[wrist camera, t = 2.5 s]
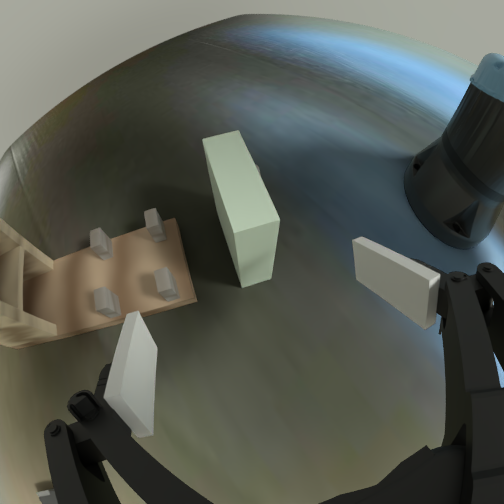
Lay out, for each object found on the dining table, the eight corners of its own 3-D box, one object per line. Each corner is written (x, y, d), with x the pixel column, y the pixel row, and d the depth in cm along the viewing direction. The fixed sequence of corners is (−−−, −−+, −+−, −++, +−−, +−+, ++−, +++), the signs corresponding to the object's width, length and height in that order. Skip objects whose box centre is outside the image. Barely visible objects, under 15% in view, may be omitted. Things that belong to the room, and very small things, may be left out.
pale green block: (253, 202, 31) (252, 127, 21) (282, 274, 28) (297, 214, 18) (217, 213, 31) (202, 139, 21) (241, 288, 27) (233, 233, 17)
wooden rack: (178, 224, 30) (134, 120, 17) (197, 301, 27) (143, 223, 13) (14, 283, 27) (-61, 233, 14) (17, 349, 23) (-73, 316, 10)
